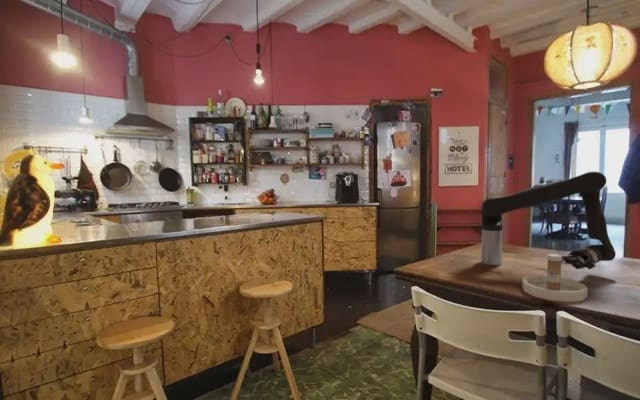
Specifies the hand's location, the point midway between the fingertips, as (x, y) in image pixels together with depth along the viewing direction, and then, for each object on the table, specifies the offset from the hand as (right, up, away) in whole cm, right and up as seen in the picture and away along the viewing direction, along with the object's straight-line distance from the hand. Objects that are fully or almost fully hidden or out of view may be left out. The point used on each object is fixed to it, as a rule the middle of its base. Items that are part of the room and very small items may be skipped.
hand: (564, 264), depth 140 cm
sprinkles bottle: (-6, -9, -4) cm, 12 cm away
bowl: (-7, -10, -4) cm, 13 cm away
